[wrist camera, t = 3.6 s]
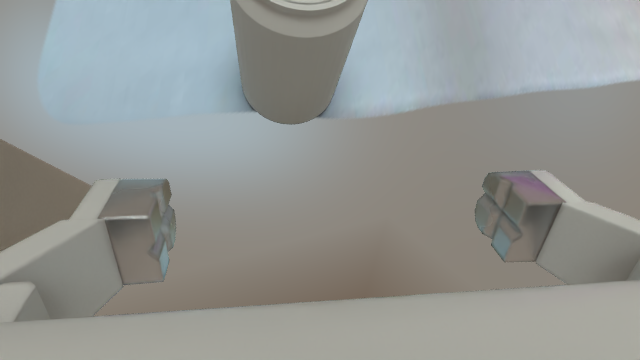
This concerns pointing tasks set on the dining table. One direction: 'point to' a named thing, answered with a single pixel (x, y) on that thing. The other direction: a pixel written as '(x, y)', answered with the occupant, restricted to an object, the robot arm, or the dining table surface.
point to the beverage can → (293, 53)
